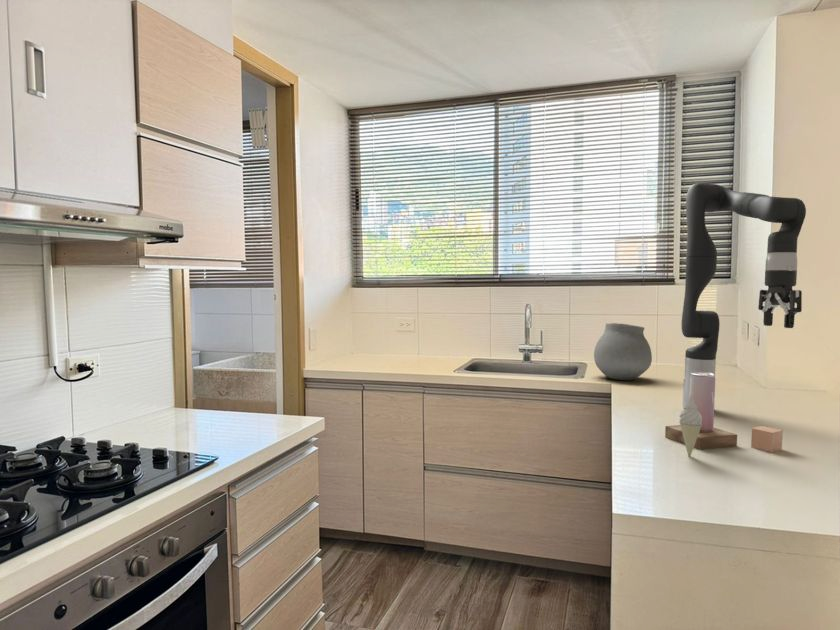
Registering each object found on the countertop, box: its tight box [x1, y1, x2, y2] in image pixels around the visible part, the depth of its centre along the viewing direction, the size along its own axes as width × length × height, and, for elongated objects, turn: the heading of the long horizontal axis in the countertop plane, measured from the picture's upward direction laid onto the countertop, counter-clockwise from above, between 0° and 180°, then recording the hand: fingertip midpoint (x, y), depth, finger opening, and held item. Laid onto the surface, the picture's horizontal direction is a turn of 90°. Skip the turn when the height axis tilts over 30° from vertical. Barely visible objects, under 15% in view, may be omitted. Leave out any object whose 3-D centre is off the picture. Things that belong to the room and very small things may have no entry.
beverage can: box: [689, 372, 717, 433], centre depth 147 cm, size 6×6×15 cm
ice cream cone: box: [678, 395, 702, 458], centre depth 134 cm, size 5×5×15 cm
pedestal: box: [664, 424, 738, 450], centre depth 147 cm, size 12×12×3 cm
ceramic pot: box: [593, 322, 653, 381], centre depth 249 cm, size 24×24×25 cm
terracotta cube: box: [750, 425, 784, 453], centre depth 142 cm, size 5×5×5 cm
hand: (778, 326), depth 157 cm, fingers open, 8 cm apart
